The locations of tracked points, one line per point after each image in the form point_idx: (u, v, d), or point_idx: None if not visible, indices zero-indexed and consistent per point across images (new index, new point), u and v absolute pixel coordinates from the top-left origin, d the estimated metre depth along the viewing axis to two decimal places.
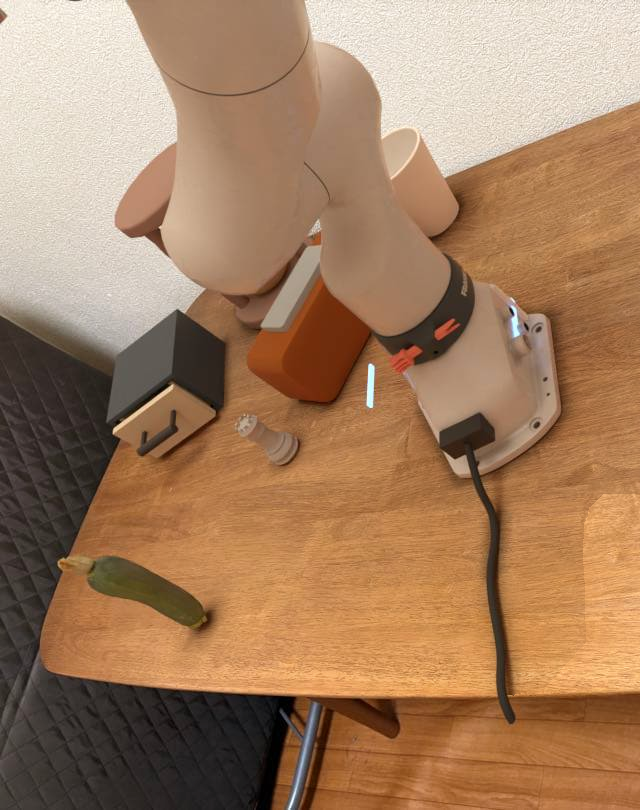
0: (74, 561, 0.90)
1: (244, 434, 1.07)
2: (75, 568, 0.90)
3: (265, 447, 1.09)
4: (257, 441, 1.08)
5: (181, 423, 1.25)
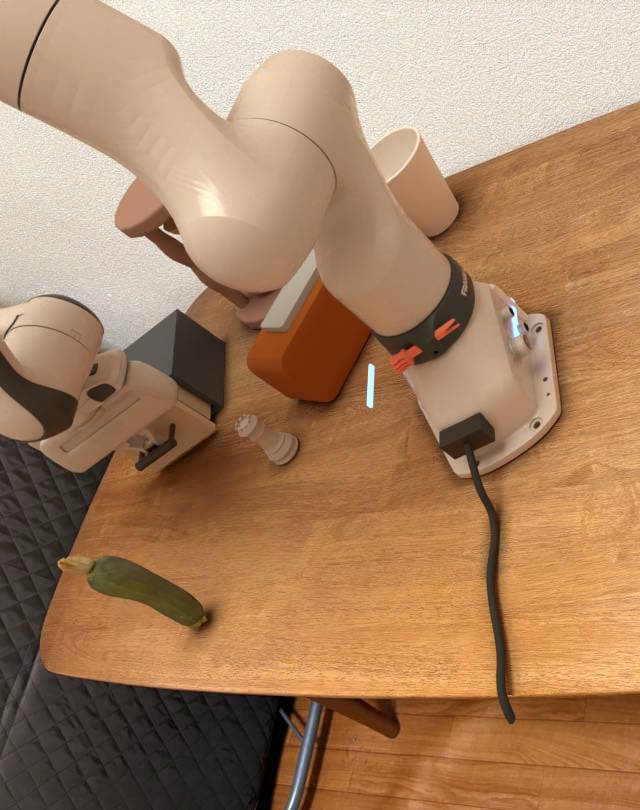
0: (74, 561, 0.90)
1: (244, 434, 1.07)
2: (75, 568, 0.90)
3: (265, 447, 1.09)
4: (257, 441, 1.08)
5: (180, 437, 1.23)
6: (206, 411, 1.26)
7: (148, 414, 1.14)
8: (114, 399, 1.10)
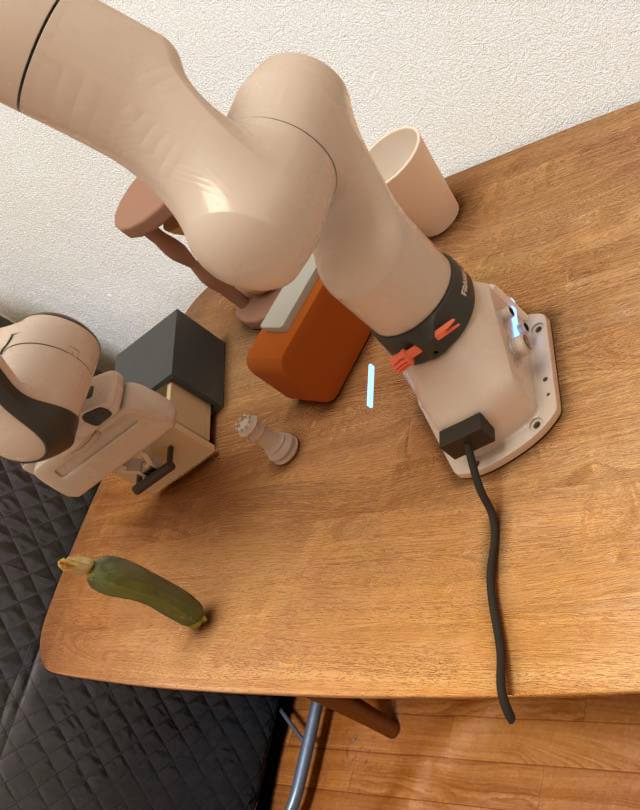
0: (74, 561, 0.90)
1: (244, 434, 1.07)
2: (75, 568, 0.90)
3: (265, 447, 1.09)
4: (257, 441, 1.08)
5: (178, 459, 1.20)
6: (205, 432, 1.23)
7: (145, 437, 1.11)
8: (110, 423, 1.07)
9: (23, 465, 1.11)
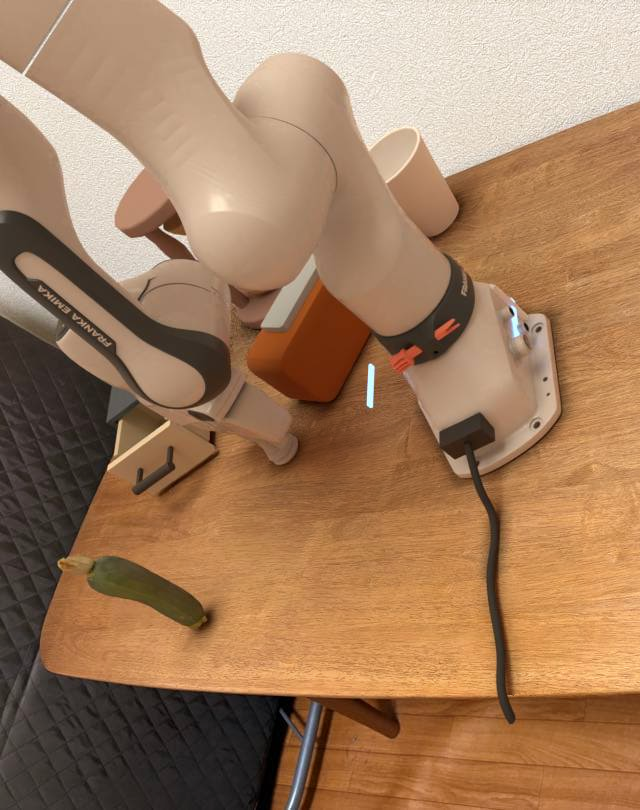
0: (74, 561, 0.90)
1: None
2: (75, 568, 0.90)
3: (265, 447, 1.09)
4: (257, 441, 1.08)
5: (178, 459, 1.20)
6: (205, 433, 1.23)
7: (254, 435, 1.02)
8: None
9: None
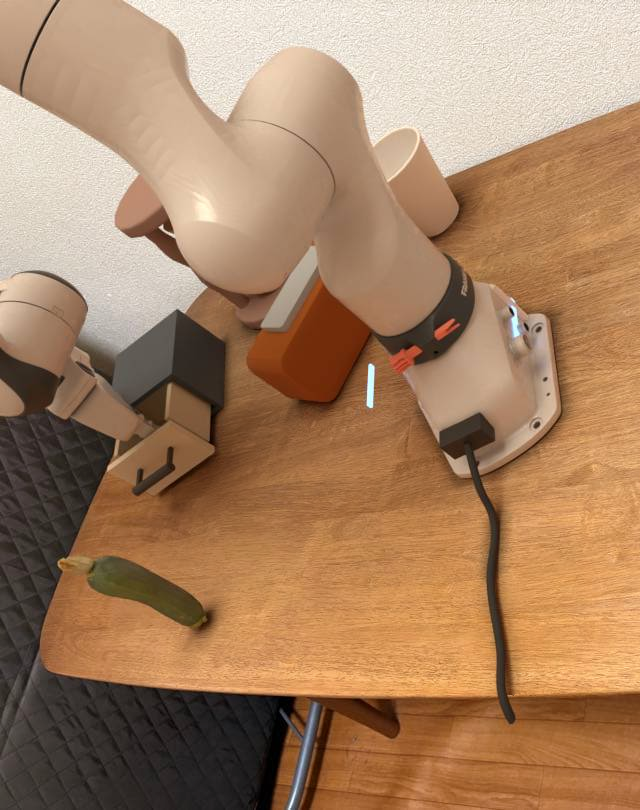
0: (74, 561, 0.90)
1: None
2: (75, 568, 0.90)
3: None
4: None
5: (178, 460, 1.20)
6: (205, 434, 1.23)
7: None
8: None
9: None
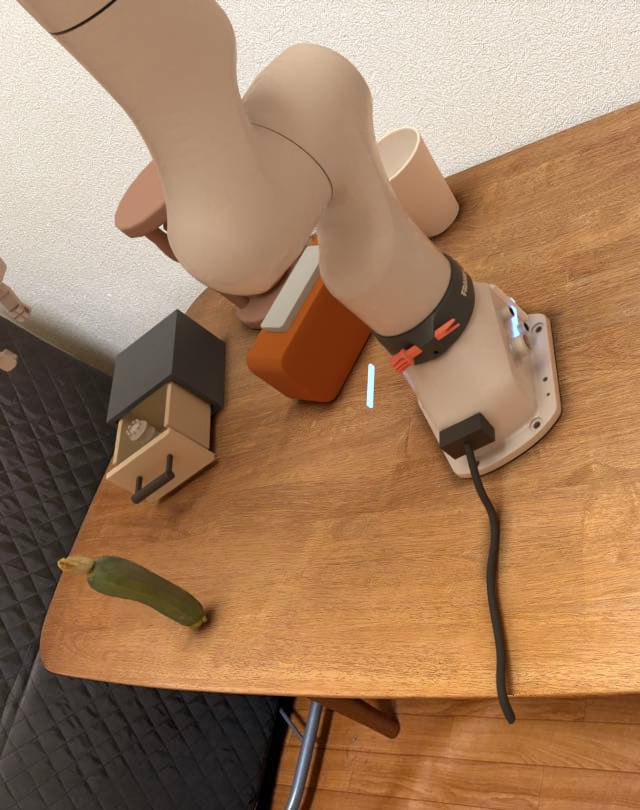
0: (74, 561, 0.90)
1: (132, 438, 1.18)
2: (75, 568, 0.90)
3: None
4: None
5: (178, 467, 1.19)
6: (205, 441, 1.22)
7: None
8: None
9: None
